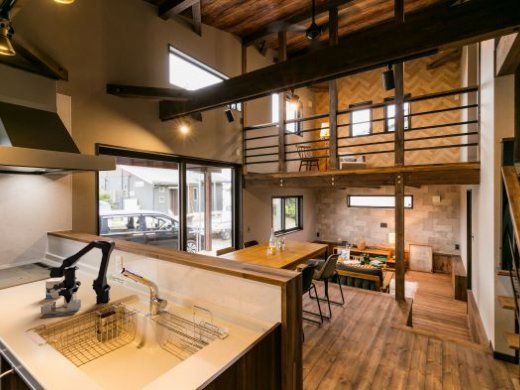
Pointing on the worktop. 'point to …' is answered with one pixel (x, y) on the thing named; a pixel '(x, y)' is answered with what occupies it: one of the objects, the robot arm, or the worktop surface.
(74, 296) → the logic module
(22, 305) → the worktop surface
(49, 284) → the ink box
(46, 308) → the din rail
